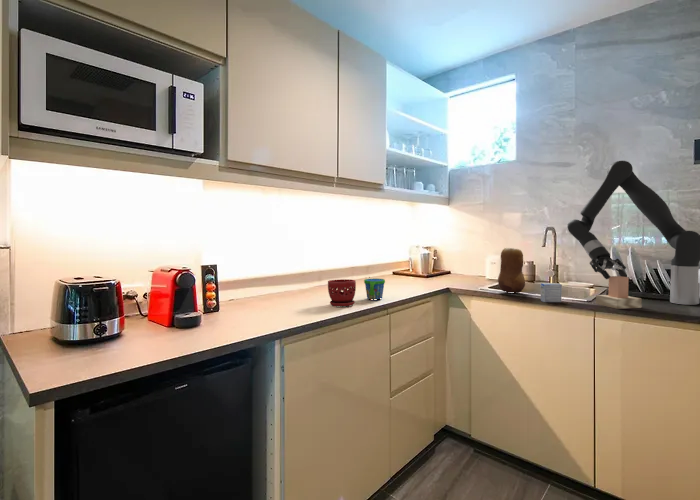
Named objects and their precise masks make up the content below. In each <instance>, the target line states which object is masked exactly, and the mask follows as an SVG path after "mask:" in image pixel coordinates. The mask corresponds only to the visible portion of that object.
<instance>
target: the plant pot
mask: <svg viewBox="0 0 700 500" xmlns="http://www.w3.org/2000/svg"><path fill="white" fill-rule="evenodd" d="M356 283H357V282H356V280H355V279H350V278H349V279H345V278H343V279H331V280H327V291H328V296H329V298H330V301H329V303H330V305H331V306H332V305H333V307H335V306H348V307H351V306H350V305H352V306H353V305H354V304H355V300H354V298H355V296H356V288H357V285H356Z"/></svg>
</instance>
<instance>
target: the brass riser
mask: <svg viewBox="0 0 700 500" xmlns="http://www.w3.org/2000/svg"><path fill="white" fill-rule="evenodd" d="M595 304H596V305H598V306H599V305H600V306H604V307H608V308H612V309H621V310H622V309H641V308H642V298H641V297H635V296H630V295H628V298H616V297H611V296H608V294H598V295H597V294H596V297H595Z"/></svg>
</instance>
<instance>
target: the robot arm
mask: <svg viewBox="0 0 700 500" xmlns="http://www.w3.org/2000/svg"><path fill="white" fill-rule="evenodd" d="M632 165H633V164H631V162H629V161H627V160H617V161H615V162H612V163H611V164H609V166H608V168H607V170H606V172H607V173H606V176H605V179H604V180H603V182H602V183H601V185H600V186H599V187H598V189H597V190H596V191H595V192H594V193H593V195H591V197H590V198H589V200H588V201H587V202H586V204H585V205H584V207H582V209H581V210H580V215H581V217H582V218H581V220H580V219H571V220H570V221H568V224H567V231H568V232H569V233H570V234H571V236H572V237H574V239H576V240H577V241H578V242H579V243H580V245H581V246H582V249H584V251H585V252H586V254H587V255H588V257H589V259H591V260H590V261H589V265H590V267H591V268H592V269H593V271H594V272H595V273H600V274H601V275H602V277H603V278H604V279H605V280H609V278H610V276H611V275H610V273H609V272H608V271H607V269H608V270H612V271H615V272H617V273H618V276H622V277H628V274H627V273H626V271H625V270H626V269H627V267H626V265H625V264H623V262H622V261H621V260H620V259H619V258H616V259H613V258H611V253H610V251H608V249H607V248H606V247H605V245H604V244H603V243H602V242H600V240H599V239H598V238H597V236H596V235H595V234H594V233H593V232H591V229H592V227H593V226H594V223H595V219H596V217H597V216H598V214H599V213H600V212H601V211H602V209H603V208H604V206H605V205H606V203H607V202H608V201H609V200H610V198H611V196H612V195H613V194H614V192H615V191H616V190H617V189H618V188H619V187H620V188H621V189H622V190H623V191H624V192H625V193H626V194H627V196H628V198H629V199H630V200H631V201H632V204H634V205H635V207H636V208H637V209H638V210H639V212H641V214H643V216H645V217H646V219H648V221H649V222H651V224H652V225H654V226H655V228H657V230H659V232H660V233H661V235H662V236H663V238H664V239H665V240H666V242H667V243H668V244H669V246H670V247H671V248H673V249H674V251H675V253H674V257H673V258H672V259H671V260H670V262H671V263H670V288H669V289H670V290H669V291H670V293H669V294H670V295H669V302H670V303H673V304H679V305H686V306H690V305H691V306H696V305H699V304H700V282H699V266H700V265H699V264H700V234H699V233H698V232H696V231H695V230H694V231H693V230H687V229H684V228H683V227H682V226H681V225H680V224H679V223H678V222H677V221H676V220H675V218H674V216H673V214H672V211H671V209H670V207H669V206H668V205H667V203H666V202H665V200H664V199H663V198H662V197H661V196H660V195H659V194H658V193H657V192H656V191H655V190H653V188H650V186H648V185H646V184H645V183H644V182H642V180H640V178H639V177H637V175H636V173H634V169H633V166H632Z"/></svg>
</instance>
